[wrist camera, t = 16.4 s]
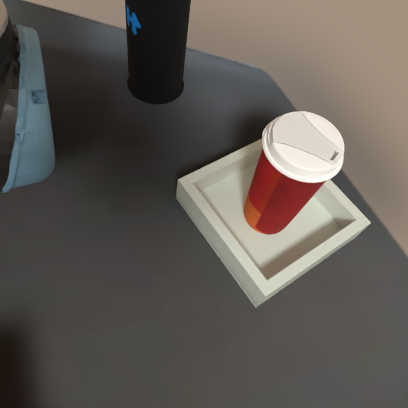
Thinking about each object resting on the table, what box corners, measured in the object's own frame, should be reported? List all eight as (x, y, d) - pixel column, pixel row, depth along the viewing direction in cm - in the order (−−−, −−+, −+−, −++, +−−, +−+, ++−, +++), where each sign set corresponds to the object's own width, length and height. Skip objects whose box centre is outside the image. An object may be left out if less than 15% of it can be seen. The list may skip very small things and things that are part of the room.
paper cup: (307, 211, 47) (363, 137, 35) (276, 255, 43) (325, 189, 31) (255, 176, 49) (291, 93, 37) (221, 215, 45) (248, 138, 33)
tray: (175, 197, 47) (177, 179, 43) (273, 148, 53) (282, 128, 49) (255, 307, 41) (265, 296, 38) (354, 237, 47) (371, 222, 44)
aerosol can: (187, 70, 59) (203, -78, 41) (179, 109, 54) (194, -38, 37) (133, 60, 58) (128, -93, 41) (121, 98, 54) (110, -55, 37)
